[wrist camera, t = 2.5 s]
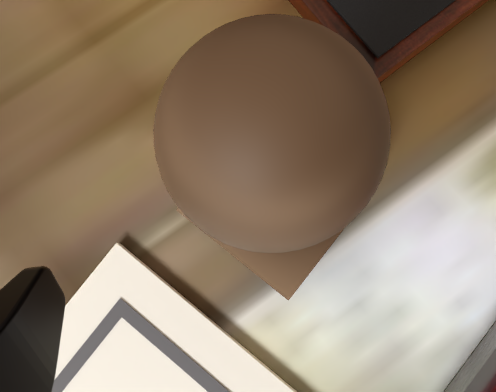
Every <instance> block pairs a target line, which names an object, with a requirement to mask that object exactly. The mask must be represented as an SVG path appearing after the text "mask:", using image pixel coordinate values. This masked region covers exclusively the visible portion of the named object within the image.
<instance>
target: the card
mask: <svg viewBox="0 0 496 392" xmlns="http://www.w3.org/2000/svg"><path fill="white" fill-rule="evenodd" d="M52 392H297V391H296V390H295V389H293V388H292V387H291V386H290V385H289V384H287V383H286V382H285V381H284V380H283V379H282V378H280V377H279V376H278V375H277V374H276V373H274V372H273V371H272V370H271V369H270V368H268V367H267V366H266V365H265V364H264V363H262V362H261V361H260V360H259V359H258V358H256V357H255V356H254V355H253V354H252V353H250V352H249V351H248V350H247V349H246V348H244V347H243V346H242V345H241V344H240V343H239V342H237V341H236V340H235V339H234V338H233V337H231V336H230V335H229V334H228V333H227V332H225V331H224V330H223V329H222V328H221V327H219V326H218V325H217V324H216V323H215V322H213V321H212V320H211V319H210V318H209V317H207V316H206V315H205V314H204V313H203V312H202V311H200V310H199V309H198V308H197V307H196V306H194V305H193V304H192V303H191V302H190V301H188V300H187V299H186V298H185V297H184V296H182V295H181V294H180V293H179V292H178V291H176V290H175V289H174V288H173V287H172V286H170V285H169V284H168V283H167V282H166V281H165V280H163V279H162V278H161V277H160V276H159V275H157V274H156V273H155V272H154V271H153V270H151V269H150V268H149V267H148V266H147V265H145V264H144V263H143V262H142V261H141V260H139V259H138V258H137V257H136V256H135V255H133V254H132V253H131V252H130V251H129V250H128V249H126V248H125V247H124V246H123V245H122V244H120V243H116V244H115V245H114V247H113V248H112V249H111V250H110V251H109V253H108V254H107V255H106V256H105V258H104V259H103V260H102V261H101V263H100V264H99V265H98V266H97V268H96V269H95V270H94V271H93V272H92V274H91V275H90V276H89V277H88V279H87V280H86V281H85V282H84V284H83V285H82V286H81V287H80V289H79V290H78V291H77V292H76V294H75V295H74V296H73V297H72V298H71V300H70V301H69V302H68V303H67V305H66V306H65V312H64V319H63V326H62V333H61V340H60V347H59V354H58V361H57V368H56V374H55V379H54V384H53V388H52Z"/></svg>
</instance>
